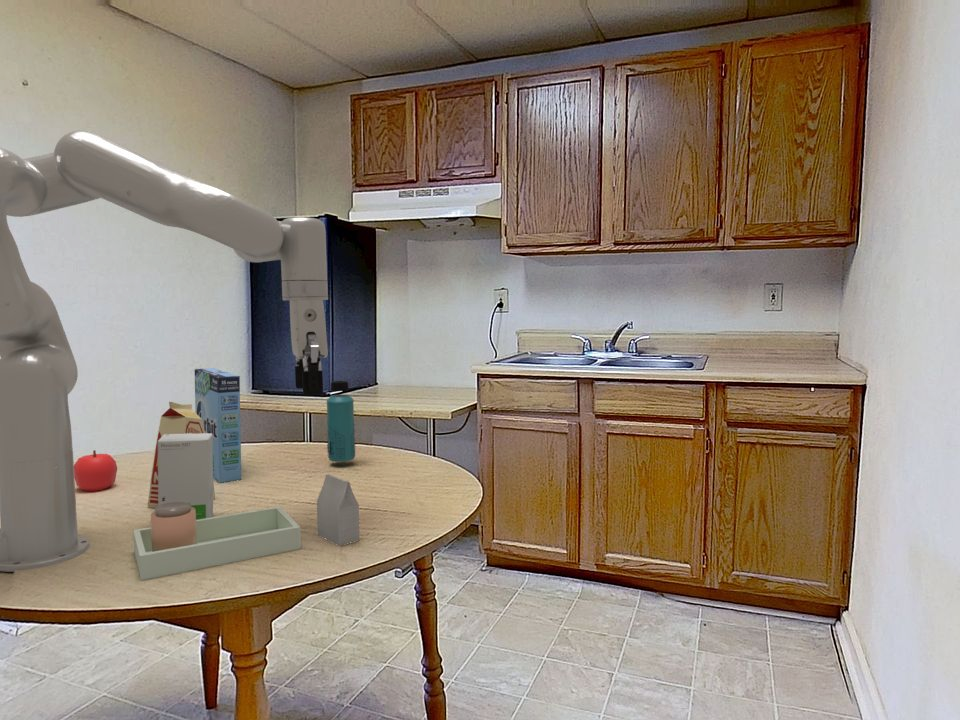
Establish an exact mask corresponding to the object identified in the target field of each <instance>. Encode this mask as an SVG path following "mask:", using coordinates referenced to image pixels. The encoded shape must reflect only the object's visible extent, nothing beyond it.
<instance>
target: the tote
mask: <svg viewBox="0 0 960 720" xmlns="http://www.w3.org/2000/svg"><path fill="white" fill-rule="evenodd" d="M132 531H133V553H134V556H135V561H136V565H137V570H138V573H139V577H140V581H141V582H142V581H146V580H152V579H154V578H155V579H156V578H161V577H165V576H167V577H168V576H171V575H172V576H173V575H176V574H181V573H186V572H190V571H195V570H196V571H197V570H200V569H201V570H203V569H206V568H212V567H217V566H222V565H226V564H233V563H238V562H243V561H246V560H252V559H257V558H262V557H266V556H267V557H268V556H272V555H277V554H278V555H279V554H282V553H286V552H287V553H288V552H293V551H298V550H301V549H302V537H301V534H302V532H301V531H302V530H301V526H300V525H299V524H298V523H297V522H296V521H295V520H294V519H293V518H292V517H291V516H290V515H289V514H288V513H287V512H286V511H285V510H284V509H283V508H282V507H281V506H280V505H279V506H274V507H267V508H262V509H255V510H247V511H243V512H236V513H231V514H224V515H218V516H213V517H211V518H205V519H199V520H196V535H197V544H194V545H188V546H182V547H177V548H171V549H166V550H160V551H155V552H152V534H151V526H150V527H144V528H138V529H133V530H132Z"/></svg>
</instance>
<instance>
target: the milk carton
mask: <svg viewBox="0 0 960 720" xmlns="http://www.w3.org/2000/svg"><path fill="white" fill-rule="evenodd" d="M168 404H169V409H167V410H166V411H165V412H164V413H163V414H162V415H161V416H160V421H159V424H158V431H157V432H158V433H157V437H156V443H155V449H154V455H153V463H152V470H151V476H150V484H149V490H148V491H149V492H148V501H147V508H150V509H155V508H156V507H158V440H159V439H160V438H161V437H162V436H163V435H164V434H188V433H192V434H202V433H205V430H204V426H203V421H202V419H201V418H200V417H199V416H198V415H197V414H196V413H195V410H193V404H189V403H187V404H181V403H177V402H174V401H168ZM214 499H216V494H215V485H214V481H213V500H214Z"/></svg>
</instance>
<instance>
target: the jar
mask: <svg viewBox="0 0 960 720" xmlns="http://www.w3.org/2000/svg"><path fill="white" fill-rule="evenodd" d="M150 527H151V534H152V552H155V551H160V550H166V549H171V548H177V547H182V546H188V545H194V544H197V535H196V510H195V508H194V507H191V504H190V503H187V502H172V503H166V504H163V505H160V506H158V507H156V508H154V511H152V512H151V513H150Z"/></svg>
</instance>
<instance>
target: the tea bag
mask: <svg viewBox="0 0 960 720" xmlns="http://www.w3.org/2000/svg"><path fill="white" fill-rule="evenodd" d="M324 476H325V477H324V481H323V484H322V487H321V489H320V492H319V493H318V494H319V495H318V497H317V500H316V512H317V513H316V515H317V520H316V521H317V536H318V535H319V536H318V537H320V536H321V537H320V538H322V537H323V538H322V539H324V538H326V539H327V540H326V539H325V540H326V541H328V540H329V541H331V542H333V543H335V544H337V545H339V546H340V547H342V546H341V545H343V546H345V545H344V544H347V543H350V542H353V543H355V542H354V541H357V540H359V541H360V505H359V502H358V500H357V499H356V497H355V494H354V493H353V489H352V487H351V482H350V481H347V480H345V479H342V478H341V477H340V478H338V477H337V476H333V475H331V474H329V473H328V474H325V475H324ZM329 541H328V542H329ZM331 542H330V543H331ZM357 542H358V541H357ZM333 543H332V544H333ZM335 544H334V545H335ZM350 544H351V543H350ZM337 545H336V546H337ZM347 545H348V544H347ZM339 546H338V547H339Z"/></svg>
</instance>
